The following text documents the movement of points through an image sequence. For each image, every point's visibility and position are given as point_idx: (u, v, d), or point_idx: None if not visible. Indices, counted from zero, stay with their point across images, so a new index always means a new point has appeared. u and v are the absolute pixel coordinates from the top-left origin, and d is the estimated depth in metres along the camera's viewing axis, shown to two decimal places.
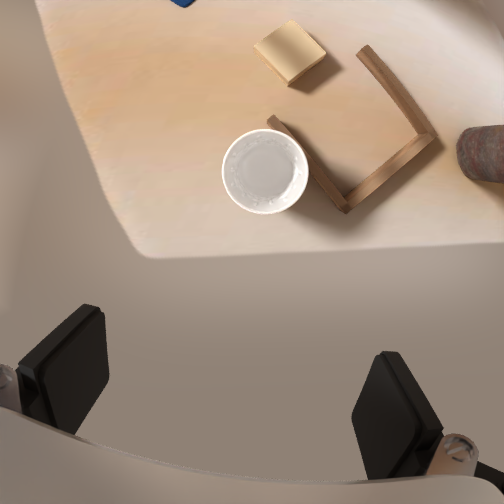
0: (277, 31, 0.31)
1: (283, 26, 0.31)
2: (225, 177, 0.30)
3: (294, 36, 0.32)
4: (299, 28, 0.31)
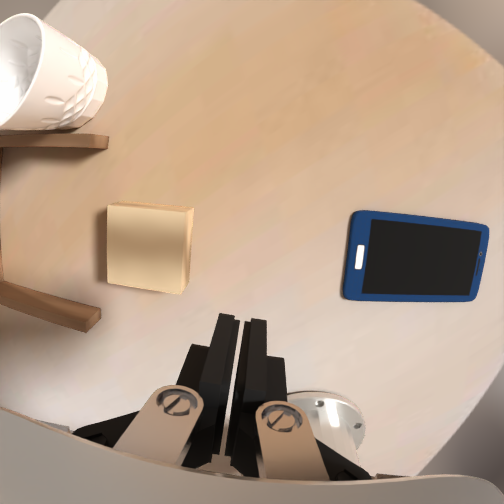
0: (178, 260, 0.23)
1: (179, 274, 0.23)
2: None
3: (154, 270, 0.23)
4: (159, 287, 0.23)
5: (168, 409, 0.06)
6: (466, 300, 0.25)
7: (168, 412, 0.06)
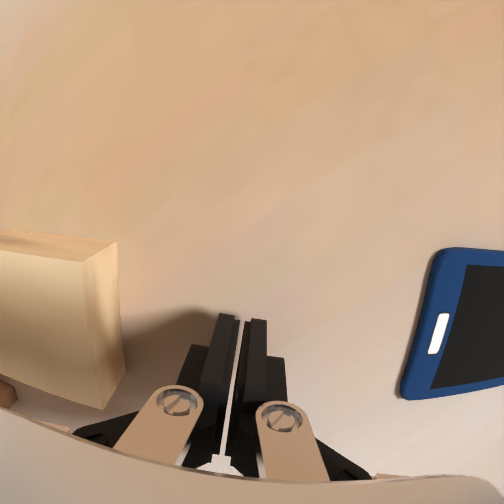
0: (85, 356, 0.10)
1: (92, 379, 0.10)
2: None
3: (51, 367, 0.10)
4: (67, 395, 0.10)
5: (168, 409, 0.06)
6: None
7: (168, 412, 0.06)
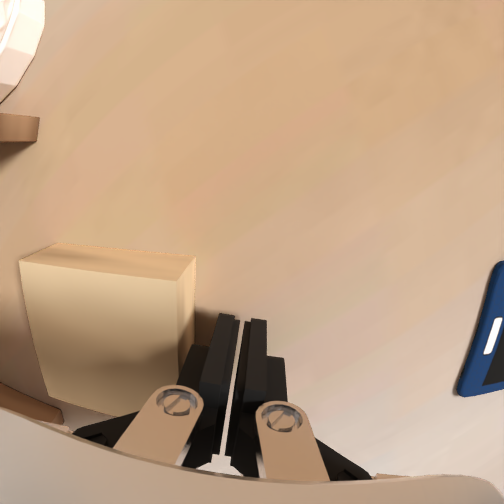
0: (171, 377, 0.10)
1: None
2: None
3: (124, 390, 0.10)
4: None
5: (168, 409, 0.06)
6: None
7: (168, 412, 0.06)
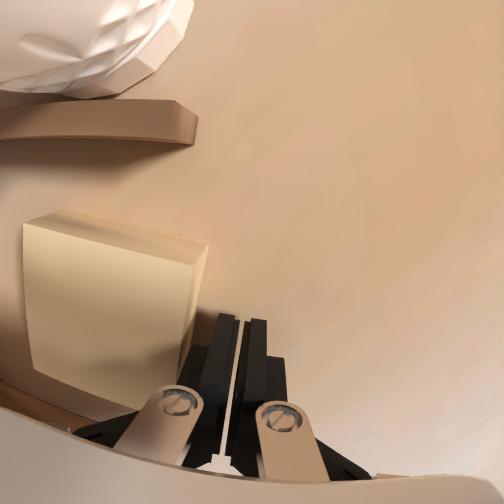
0: (169, 364, 0.10)
1: None
2: None
3: (117, 372, 0.10)
4: (129, 402, 0.10)
5: (168, 409, 0.06)
6: None
7: (168, 412, 0.06)
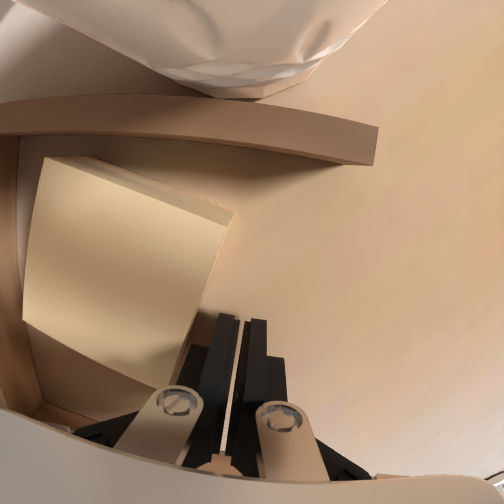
0: (177, 331, 0.09)
1: (171, 358, 0.10)
2: None
3: (117, 333, 0.09)
4: (123, 368, 0.10)
5: (168, 409, 0.06)
6: None
7: (168, 412, 0.06)
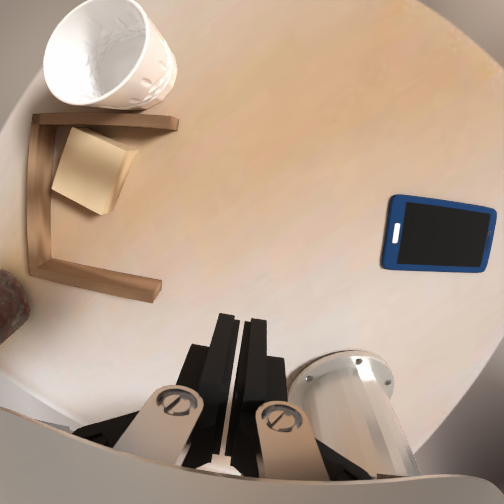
0: (108, 187, 0.25)
1: (105, 198, 0.25)
2: (130, 3, 0.15)
3: (88, 189, 0.25)
4: (87, 205, 0.26)
5: (168, 409, 0.06)
6: (478, 271, 0.29)
7: (168, 412, 0.06)
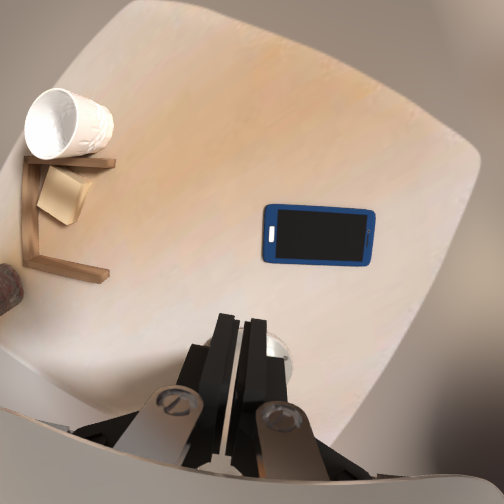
0: (71, 207, 0.37)
1: (69, 214, 0.37)
2: (68, 94, 0.27)
3: (59, 207, 0.37)
4: (58, 217, 0.38)
5: (168, 409, 0.06)
6: (360, 265, 0.40)
7: (168, 412, 0.06)
